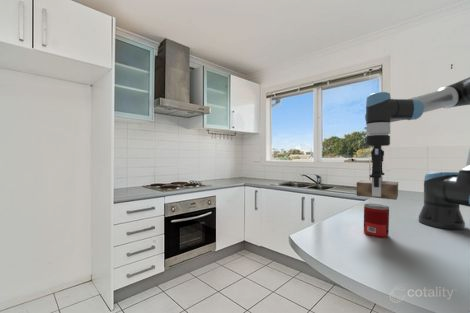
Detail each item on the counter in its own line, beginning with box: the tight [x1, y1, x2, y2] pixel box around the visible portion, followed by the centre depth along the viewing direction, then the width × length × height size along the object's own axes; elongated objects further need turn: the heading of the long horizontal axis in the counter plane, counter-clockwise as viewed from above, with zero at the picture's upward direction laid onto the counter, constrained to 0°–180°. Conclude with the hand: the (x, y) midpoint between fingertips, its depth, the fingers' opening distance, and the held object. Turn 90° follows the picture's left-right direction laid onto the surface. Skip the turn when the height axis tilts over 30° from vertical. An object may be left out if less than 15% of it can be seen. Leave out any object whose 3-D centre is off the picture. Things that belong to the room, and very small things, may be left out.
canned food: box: [363, 202, 390, 239], centre depth 85 cm, size 8×8×11 cm
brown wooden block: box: [356, 179, 399, 201], centre depth 84 cm, size 12×11×5 cm
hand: (377, 193), depth 84 cm, fingers closed on brown wooden block, 11 cm apart
